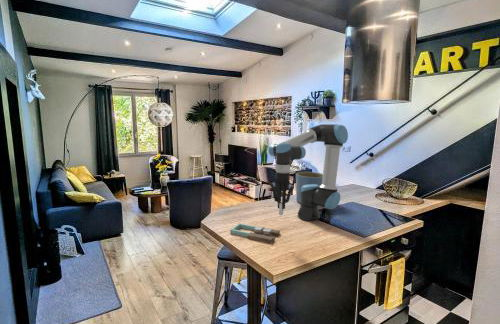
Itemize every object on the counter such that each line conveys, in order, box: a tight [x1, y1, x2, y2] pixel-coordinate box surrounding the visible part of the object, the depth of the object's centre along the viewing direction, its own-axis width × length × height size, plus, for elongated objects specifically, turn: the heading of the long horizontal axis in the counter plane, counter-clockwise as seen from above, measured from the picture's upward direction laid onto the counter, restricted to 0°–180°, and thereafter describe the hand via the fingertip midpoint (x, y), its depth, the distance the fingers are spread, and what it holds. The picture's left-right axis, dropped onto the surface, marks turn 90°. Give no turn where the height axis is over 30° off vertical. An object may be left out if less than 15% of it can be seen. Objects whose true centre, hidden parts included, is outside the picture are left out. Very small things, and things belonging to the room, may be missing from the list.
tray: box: [229, 222, 257, 238], centre depth 160 cm, size 11×12×3 cm
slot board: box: [247, 226, 281, 244], centre depth 154 cm, size 14×14×3 cm
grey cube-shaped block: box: [253, 226, 263, 235], centre depth 155 cm, size 4×4×4 cm
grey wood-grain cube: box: [263, 227, 273, 236], centre depth 153 cm, size 4×4×4 cm
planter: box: [295, 171, 323, 204], centre depth 222 cm, size 23×23×24 cm
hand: (281, 214), depth 148 cm, fingers closed
